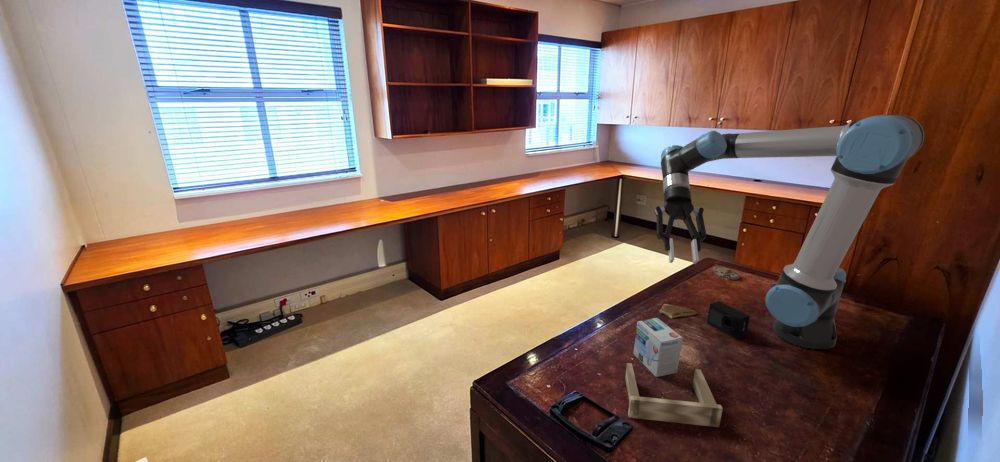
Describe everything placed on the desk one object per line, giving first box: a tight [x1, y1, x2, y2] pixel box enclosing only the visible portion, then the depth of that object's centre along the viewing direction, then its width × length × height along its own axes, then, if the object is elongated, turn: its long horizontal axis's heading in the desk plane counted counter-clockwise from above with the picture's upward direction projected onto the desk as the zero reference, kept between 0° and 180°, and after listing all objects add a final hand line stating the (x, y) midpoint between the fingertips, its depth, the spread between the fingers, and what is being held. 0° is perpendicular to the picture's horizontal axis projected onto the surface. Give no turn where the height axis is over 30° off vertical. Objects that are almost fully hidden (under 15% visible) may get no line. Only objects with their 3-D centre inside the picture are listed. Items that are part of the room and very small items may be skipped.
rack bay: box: [624, 362, 723, 428], centre depth 95 cm, size 19×13×5 cm
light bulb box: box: [633, 317, 683, 378], centre depth 108 cm, size 11×7×11 cm, turn 16°
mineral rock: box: [712, 266, 740, 281], centre depth 161 cm, size 11×4×8 cm
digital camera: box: [706, 300, 751, 340], centre depth 123 cm, size 10×5×7 cm, turn 24°
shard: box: [659, 303, 699, 319], centre depth 133 cm, size 11×8×2 cm
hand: (683, 261), depth 114 cm, fingers open, 6 cm apart
